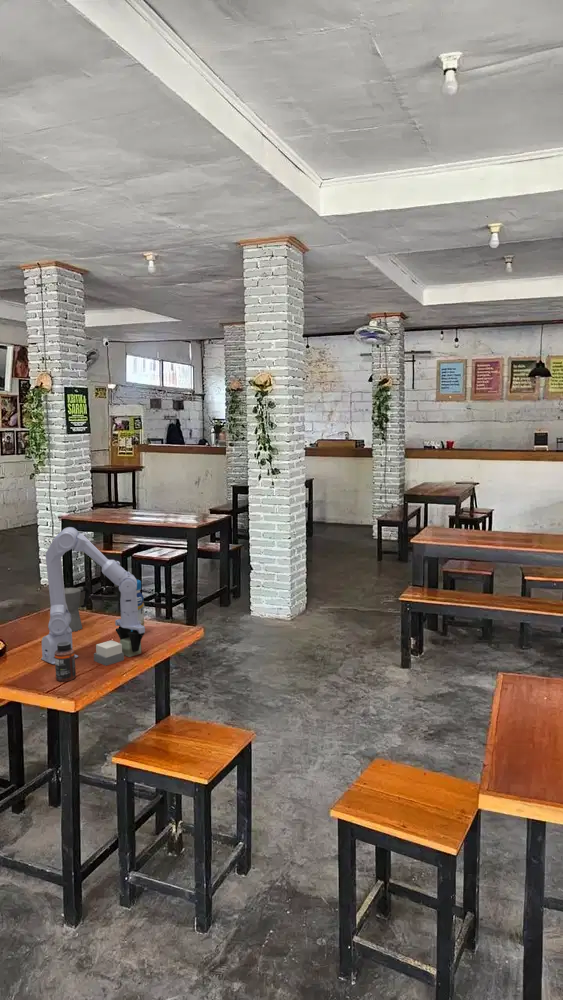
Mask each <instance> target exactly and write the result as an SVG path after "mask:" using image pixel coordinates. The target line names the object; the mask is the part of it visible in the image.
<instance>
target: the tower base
mask: <svg viewBox="0 0 563 1000" xmlns="http://www.w3.org/2000/svg"><path fill="white" fill-rule="evenodd" d="M123 661H125V655H124V653H123V652H122V653H120V654H116V655H113V656H110V657H104V656H102V655H99V654H97V653H96V652H94V653H93V662H95V663H98V664H101V665H103V666H106V667H107V666H110V665H113V664H116V663H119V662H123Z"/></svg>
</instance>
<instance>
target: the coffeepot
mask: <svg viewBox="0 0 563 1000" xmlns="http://www.w3.org/2000/svg"><path fill="white" fill-rule="evenodd" d="M65 585H66V587H64V590H65V600H66V604H67V608H68V611H69V613H70V614H71V622H70V624H69V627H70V628H71V629H72V633H74V631H75V632H78V630H79V631H81V630H82V629H83V625H82V621H81V615H80V611H79V608H80V607H81V608H86V607H87V604H88V601H89V597H90V594H91V589H90V588H89V587H88V586H87V585H84V586H79V587H71V583H70V582H67V583H65ZM83 592H85V594H84V599H83V604H82V605H80V603H81V593H83ZM80 629H81V630H80Z"/></svg>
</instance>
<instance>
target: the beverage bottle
mask: <svg viewBox="0 0 563 1000" xmlns="http://www.w3.org/2000/svg"><path fill="white" fill-rule="evenodd" d="M136 580H137V589H136V591H137V602H138V621H141V623H140V624H141V625H142V626H144V627H145V603H144V600H145V599H144V595H143V594H142V592H141V590H142V581H141V580H139V579H136ZM131 632H133V630H131Z"/></svg>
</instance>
